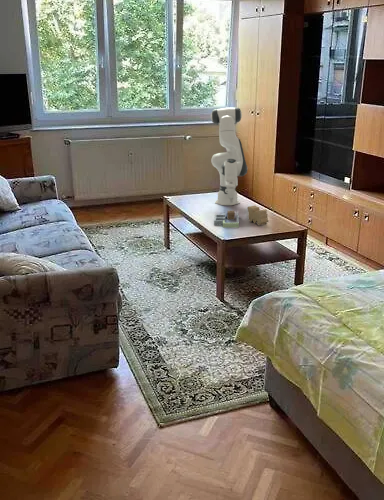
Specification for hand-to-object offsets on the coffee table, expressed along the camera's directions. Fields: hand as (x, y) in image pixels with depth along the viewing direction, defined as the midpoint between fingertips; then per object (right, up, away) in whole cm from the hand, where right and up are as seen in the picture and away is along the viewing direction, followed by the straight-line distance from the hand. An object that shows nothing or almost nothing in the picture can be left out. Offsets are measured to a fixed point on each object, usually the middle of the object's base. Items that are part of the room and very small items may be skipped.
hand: (231, 202), depth 366 cm
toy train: (+17, -15, -14) cm, 27 cm away
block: (0, -11, -3) cm, 12 cm away
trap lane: (-4, -14, -11) cm, 19 cm away
